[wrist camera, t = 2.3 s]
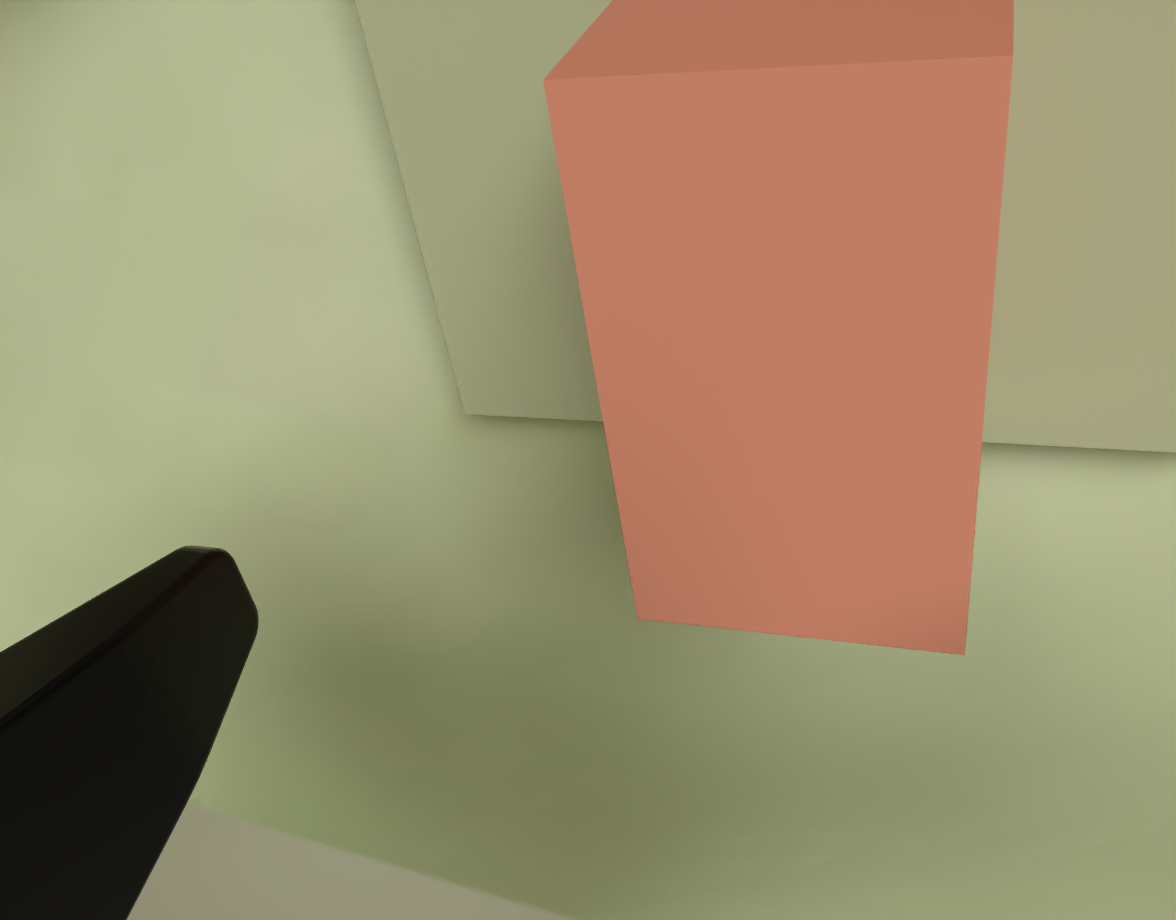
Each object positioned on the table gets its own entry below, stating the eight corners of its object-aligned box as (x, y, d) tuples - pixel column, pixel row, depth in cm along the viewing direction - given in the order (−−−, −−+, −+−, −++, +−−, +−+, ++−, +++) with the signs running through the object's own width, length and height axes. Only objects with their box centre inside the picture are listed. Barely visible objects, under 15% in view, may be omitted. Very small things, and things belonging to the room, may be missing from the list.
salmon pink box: (976, 389, 17) (964, 654, 13) (721, 379, 18) (637, 618, 14) (1014, -108, 13) (1012, 55, 9) (679, -76, 14) (542, 79, 10)
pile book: (1243, 375, 18) (1265, 457, 16) (505, 350, 22) (464, 414, 20) (1406, -286, 12) (1464, -261, 11) (389, -155, 17) (321, -122, 15)
